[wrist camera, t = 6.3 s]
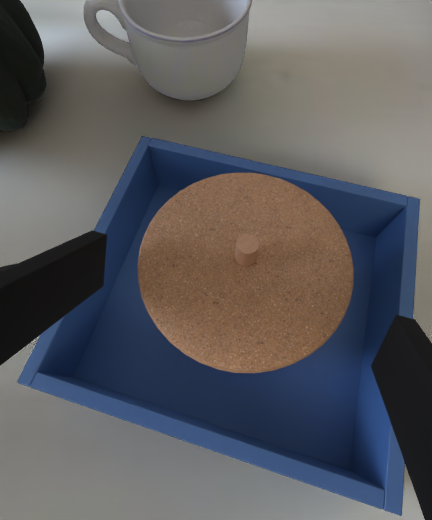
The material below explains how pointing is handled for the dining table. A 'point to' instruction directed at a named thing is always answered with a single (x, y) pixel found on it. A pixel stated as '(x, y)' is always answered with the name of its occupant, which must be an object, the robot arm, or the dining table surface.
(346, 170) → the dining table surface
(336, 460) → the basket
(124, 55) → the teacup
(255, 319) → the trinket box
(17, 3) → the squash
